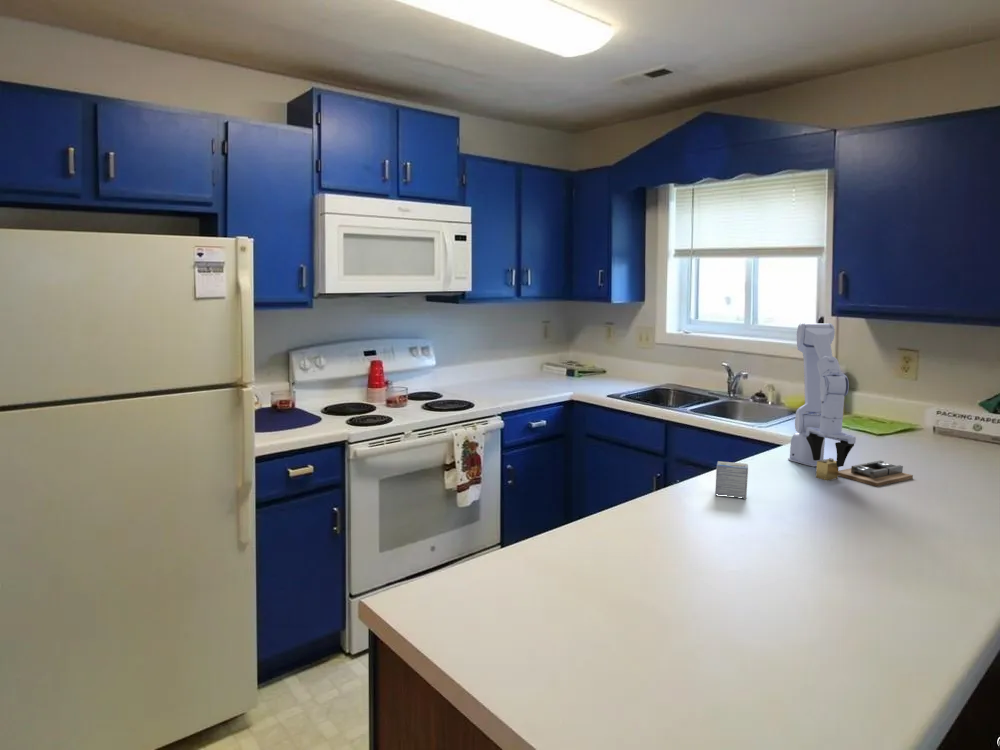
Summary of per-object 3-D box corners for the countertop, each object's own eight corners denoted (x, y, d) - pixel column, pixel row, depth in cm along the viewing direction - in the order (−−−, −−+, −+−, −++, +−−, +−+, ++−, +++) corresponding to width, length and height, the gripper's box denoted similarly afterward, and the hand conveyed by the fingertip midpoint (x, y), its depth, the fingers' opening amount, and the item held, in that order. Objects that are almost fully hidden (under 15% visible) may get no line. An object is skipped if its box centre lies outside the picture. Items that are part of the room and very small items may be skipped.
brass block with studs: (815, 477, 200) (817, 459, 199) (826, 475, 202) (828, 457, 201) (826, 480, 197) (828, 461, 196) (837, 478, 199) (839, 459, 198)
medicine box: (746, 495, 183) (748, 463, 182) (746, 500, 179) (748, 467, 177) (715, 491, 185) (717, 460, 184) (714, 496, 181) (716, 464, 180)
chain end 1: (851, 472, 201) (851, 466, 201) (865, 469, 204) (865, 463, 204) (873, 478, 195) (874, 472, 195) (887, 475, 198) (888, 469, 198)
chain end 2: (866, 469, 205) (866, 463, 204) (879, 466, 208) (880, 460, 207) (888, 475, 199) (889, 468, 198) (902, 472, 202) (902, 466, 201)
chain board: (834, 474, 202) (834, 471, 202) (870, 467, 211) (870, 464, 210) (876, 486, 191) (877, 483, 191) (912, 478, 199) (912, 475, 199)
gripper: (800, 413, 201) (797, 458, 203) (845, 423, 188) (842, 470, 190) (816, 411, 204) (813, 456, 206) (861, 420, 192) (857, 467, 194)
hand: (828, 463), depth 198 cm, fingers open, 7 cm apart
